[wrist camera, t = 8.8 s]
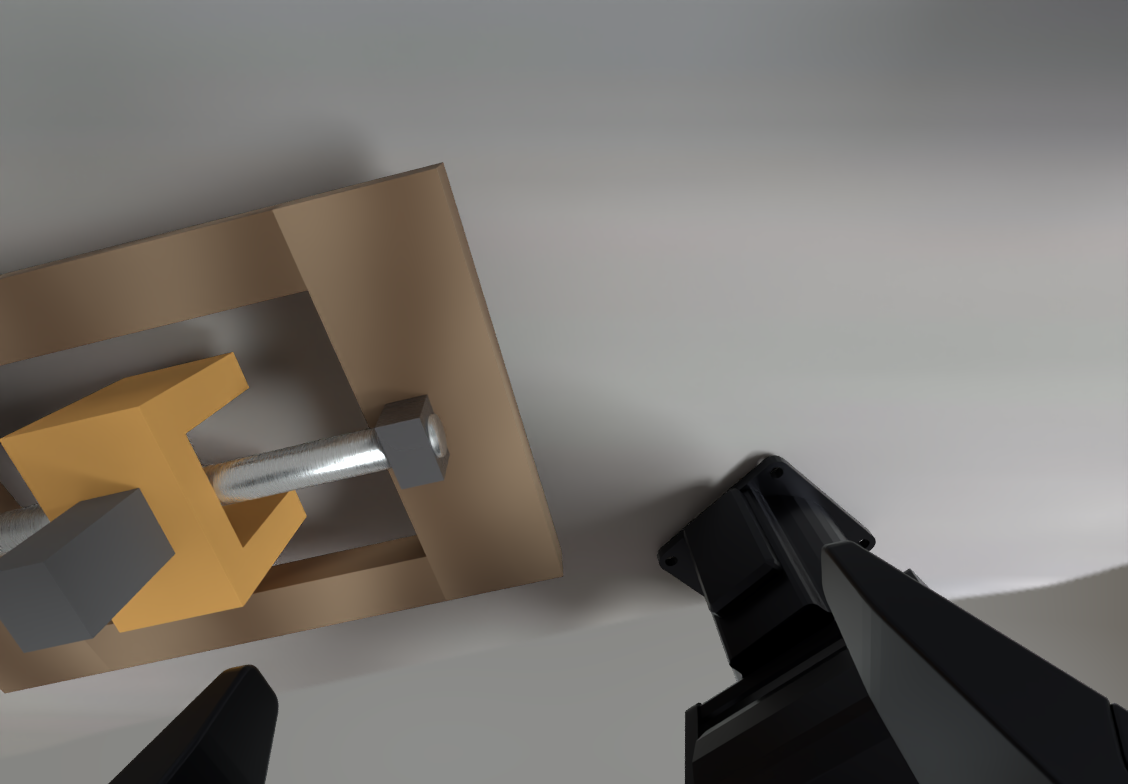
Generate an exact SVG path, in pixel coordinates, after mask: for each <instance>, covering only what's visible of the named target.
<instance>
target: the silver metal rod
mask: <svg viewBox="0 0 1128 784" xmlns="http://www.w3.org/2000/svg"><path fill="white" fill-rule="evenodd" d="M449 456H450V453H449V450H448V448H447V442H446V436H445V431H444V428H443V425H442V422H441V420H440V418H439V417H438V415H437V414H435V413H434V411H433V408H432V406H431V403H430V400H429V398H428V395H427V394H426V395H422V396H418V397H413V398H409V399H405V400H400V401H396V402H392V403H387V404H385V406H384V408H383V410H382V412H381V415H380V417H379V419H378V421H377V423H376V425H375V427H374V428H370V429H366V430H361V431H357V432H353V433H348V434H344V435H339V436H335V437H331V438H326V439H322V440H318V441H313V442H309V443H304V444H300V445H296V446H291V447H287V448H283V449H278V450H274V451H269V452H265V453H261V454H256V455H252V456H248V457H243V458H239V459H235V460H230V461H226V462H221V463H217V464H213V465H208V466H204V467H202V468H203V470H204V472H205V474H206V476H207V478H208V480H209V482H210V484H211V486H212V488H213V490H214V492H215V494H216V496H217V498H218V500H219V502H220V504H221V506H227V505H231V504H235V503H240V502H244V501H249V500H253V499H258V498H262V497H267V496H271V495H276V494H280V493H285V492H289V491H293V490H298V489H302V488H307V487H311V486H316V485H320V484H325V483H329V482H334V481H338V480H343V479H347V478H351V477H356V476H360V475H365V474H369V473H374V472H378V471H383V470H387V469H393V471H394V474H395V476H396V478H397V481H398V483H399V485H400V487H401V490H402V489H407V488H411V487H416V486H420V485H425V484H429V483H434V482H438V481H443V480H444V479H445V474H446V469H447V465H448V460H449ZM48 523H50V521H49V519H48V517H47V516H46V514H45V513H44V511H43V509H42V508H41V506H40V505H39V504H38V505H33V506H29V507H25V508H20V509H16V510H12V511H7V512H3V513H0V556H3V555H4V554H6V553H7V552H9V551H10V550H11V549H13V548H14V547H16V546H17V545H19V544H20V543H21V542H23V541H24V540H26V539H27V538H28V537H30V536H31V535H33V534H34V533H36V532H37V531H38V530H40V529H41V528H43V527H44V526H45V525H47V524H48Z"/></svg>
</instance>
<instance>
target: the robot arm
mask: <svg viewBox="0 0 1128 784" xmlns="http://www.w3.org/2000/svg"><path fill="white" fill-rule="evenodd" d="M775 467H779V469H778V470H777V471H775V472H770V471H771V470H772V469H774V468H775ZM861 540H862V541H861ZM859 541H860V542H859ZM875 543H876V541H875V538H874V537H873V535H872V534H871V533H870V531H869V530H868V529H867V528H865V527H864V526H863V525H862V524H861V523H860V522H858V521H857V520H856V519H855V518H854V517H852V516H851V515H850V514H849V513H848V512H846V511H845V510H844V509H843V508H842V507H840V506H839V505H838V504H837V503H836V502H834V501H833V500H832V499H831V498H830V497H829V496H827V495H826V494H825V493H824V492H823V491H821V490H820V489H819V488H818V487H817V486H815V485H814V484H813V483H812V482H811V481H809V480H808V479H807V478H806V477H805V476H804V475H802V474H801V473H800V472H799V471H798V470H796V469H795V468H794V467H793V466H792V465H790V464H789V463H788V462H787V461H786V460H784V459H783V458H782V457H780V456H771V457H768V458H766V459H765V460H763V461H762V462H761V463H760V464H759V465H758V466H756V467H755V468H754V469H753V470H752V471H751V472H749V473H748V474H747V475H746V476H745V477H744V478H742V479H741V480H740V481H739V482H738V483H737V484H735V485H734V486H733V487H732V488H731V489H730V490H728V491H727V492H726V493H725V494H724V495H723V496H721V497H720V498H719V499H718V500H717V501H716V502H714V503H713V504H712V505H711V506H710V507H708V508H707V509H706V510H705V511H704V512H703V513H701V514H700V515H699V516H698V517H697V518H696V519H694V520H693V521H692V522H691V523H690V524H689V525H687V526H686V527H685V528H684V529H683V530H682V531H680V532H679V533H678V534H677V535H676V536H675V537H673V538H672V539H671V540H670V541H669V542H668V543H666V544H665V545H664V546H663V547H662V548H661V549H660V550H659V551H658V554H657V557H658V561H659V564H660V566H661V567H662V568H663V569H664V570H665V571H667V572H668V573H670V574H671V575H673V576H674V577H676V578H677V579H679V580H680V581H682V582H683V583H685V584H686V585H688V586H689V587H691V588H692V589H694V590H695V591H697V592H698V593H700V594H701V595H703V596H704V597H705V599H706V602H707V605H708V608H709V610H710V611H711V613H712V615H713V618H714V621H715V624H716V627H717V630H718V633H719V636H720V639H721V642H722V645H723V648H724V650H725V653H726V656H727V659H728V662H729V665H730V666H731V667H732V669H733V672H734V675H735V678H736V681H737V682H736V683H735V684H733V685H731V686H730V687H728V688H727V689H725V690H723V691H722V692H720V693H719V694H717V695H716V696H714V697H712V698H711V699H709V700H708V701H706V702H704V703H703V704H701V703H697V704H696V705H694V706H692V707H691V708H689V709H688V710H686V712H685V784H1128V710H1126V709H1125V708H1123V707H1122V706H1120V705H1118V704H1116V703H1112V704H1110V702H1109V700H1108V698H1106V697H1105V696H1103V695H1102V694H1100V693H1098V692H1097V691H1095V690H1093V689H1092V688H1090V687H1088V686H1087V685H1085V684H1084V683H1082V682H1080V681H1079V680H1077V679H1075V678H1074V677H1072V676H1071V675H1069V674H1067V673H1066V672H1064V671H1063V670H1061V669H1059V668H1058V667H1056V666H1054V665H1053V664H1051V663H1049V662H1048V661H1046V660H1045V659H1043V658H1041V657H1040V656H1038V655H1037V654H1035V653H1033V652H1032V651H1030V650H1028V649H1027V648H1025V647H1024V646H1022V645H1020V644H1019V643H1017V642H1015V641H1014V640H1012V639H1010V638H1009V637H1007V636H1006V635H1004V634H1002V633H1001V632H999V631H998V630H996V629H994V628H993V627H991V626H990V625H988V624H986V623H985V622H983V621H981V620H980V619H978V618H977V617H975V616H973V615H972V614H970V613H968V612H967V611H965V610H964V609H962V608H960V607H959V606H957V605H955V604H954V603H952V602H951V601H949V600H947V599H946V598H944V597H942V596H941V595H939V594H938V593H936V592H934V591H933V590H931V589H930V588H929V587H928V586H927V585H926V584H925V583H924V582H923V581H922V580H921V579H920V578H919V577H918V576H917V575H916V574H915V573H914V572H913V571H912V570H911V569H908V570H906V571H905V572H902V571H900V570H899V569H897V568H895V567H894V566H892V565H890V564H889V563H887V562H886V561H884V560H882V559H881V558H879V557H877V556H876V555H874V554H873V553H871V552H869V551H870V550H871V549H872V548H873V547H874V545H875ZM670 556H674V557H673V558H671V559H667V558H668V557H670ZM277 716H278V699H277V696H276V694H275V693H274V691H273V690H272V688H271V687H270V685H269V684H268V683H267V681H266V680H265V678H264V677H263V676H262V674H261V673H260V671H259V670H258V669H257V668H256V667H255V666H253V665H243V666H239V667H234V668H229V669H227V670H225V671H223V672H222V673H221V674H220V675H219V676H218V677H217V678H216V679H215V680H214V681H213V682H212V683H211V684H210V685H209V686H208V687H207V688H206V689H205V690H204V691H203V692H202V693H200V694H199V695H198V696H197V697H196V698H195V699H194V700H193V701H192V702H191V703H190V704H189V705H188V706H187V707H186V708H185V709H184V710H183V711H182V712H181V713H180V714H179V715H178V716H177V717H176V718H175V719H174V720H173V721H172V722H171V723H170V724H169V725H168V726H167V727H166V728H165V729H164V730H163V731H162V732H161V733H160V734H159V735H158V736H157V737H156V738H155V739H154V740H153V741H152V742H151V743H149V745H147V747H145V749H143V750H142V751H141V752H140V753H139V754H138V755H137V756H136V757H135V758H134V759H133V760H132V761H131V762H130V763H129V764H128V765H127V766H126V767H125V768H124V769H123V770H122V771H121V772H120V773H119V774H118V775H117V776H116V777H115V778H114V779H113V780H112V781H111V782H110V783H109V784H265V780H266V775H267V770H268V764H269V758H270V753H271V748H272V743H273V737H274V732H275V726H276V721H277Z"/></svg>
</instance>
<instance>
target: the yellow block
mask: <svg viewBox="0 0 1128 784" xmlns="http://www.w3.org/2000/svg"><path fill="white" fill-rule="evenodd" d="M248 388H249V386H248V384H247V382H246V380H245V377H244V375H243V373H242V371H241V368H240V366H239V364H238V362H237V359H236V357H235V355H234V353H233V352H231V353H227V354H223V355H218V356H214V357H210V358H206V359H202V360H198V361H193V362H189V363H185V364H181V365H177V366H172V367H168V368H164V369H160V370H156V371H152V372H147V373H143V374H139V375H135V376H131V377H126V378H123V379H121V380H119V381H117V382H115V383H113V384H111V385H109V386H107V387H105V388H103V389H101V390H99V391H97V392H95V393H92V394H90V395H88V396H86V397H84V398H82V399H80V400H78V401H76V402H74V403H72V404H70V405H68V406H66V407H64V408H62V409H60V410H58V411H56V412H54V413H52V414H50V415H48V416H45V417H43V418H41V419H39V420H37V421H35V422H33V423H31V424H29V425H27V426H25V427H23V428H21V429H19V430H17V431H15V432H13V433H11V434H9V435H7V436H5V437H3V438H1V439H0V442H1V444H2V446H3V447H4V449H5V450H6V452H7V454H8V455H9V457H10V458H11V460H12V462H13V463H14V465H15V466H16V468H17V470H18V471H19V473H20V474H21V476H22V478H23V479H24V481H25V482H26V484H27V485H28V487H29V489H30V490H31V492H32V493H33V495H34V497H35V498H36V500H37V501H38V503H39V505H40V506H41V508H42V509H43V511H44V513H45V514H46V516H47V517H48V519H49V521H50V523H48V524H47V525H45V526H44V527H43V528H41V529H40V530H38V531H37V532H36V533H34V534H33V535H31V536H30V537H28V538H27V539H26V540H24V541H23V542H21V543H20V544H19V545H17V546H16V547H14V548H13V549H11V550H10V551H9V552H7V553H6V554H4V555H3V556H2V557H0V620H1V621H2V623H3V624H4V626H5V627H6V629H7V630H8V631H9V633H10V634H11V636H12V637H13V638H14V640H15V641H16V643H17V644H18V645H19V647H20V648H21V650H22V651H23V653H27V652H31V651H36V650H41V649H46V648H50V647H55V646H60V645H64V644H69V643H74V642H78V641H83V640H88V639H93V638H94V637H95V636H96V635H97V634H98V633H99V632H100V631H101V630H102V629H103V628H104V627H105V626H106V625H107V624H108V623H109V621H110V620H112V621H113V623H114V624H115V626H116V628H117V629H118V631H119V632H120V633H121V632H126V631H131V630H135V629H140V628H145V627H150V626H154V625H159V624H164V623H168V622H173V621H178V620H182V619H187V618H192V617H197V616H201V615H206V614H211V613H215V612H220V611H225V610H229V609H234V608H239V607H243V606H244V605H245V604H246V602H247V601H248V599H249V598H250V596H251V595H252V594H253V592H254V591H255V589H256V588H257V586H258V585H259V584H260V582H261V581H262V579H263V578H264V577H265V575H266V574H267V572H268V571H269V569H270V568H271V567H272V565H273V564H274V562H275V561H276V559H277V558H278V557H279V555H280V554H281V552H282V551H283V549H284V548H285V547H286V545H287V544H288V542H289V541H290V539H291V538H292V537H293V535H294V534H295V532H296V531H297V529H298V528H299V527H300V525H301V524H302V522H303V521H304V519H305V518H306V517H307V516H306V514H305V511H304V509H303V507H302V505H301V502H300V500H299V498H298V496H297V493H296V491H295V490H293V491H289V492H285V493H280V494H276V495H271V496H267V497H262V498H258V499H253V500H249V501H244V502H240V503H235V504H231V505H227V506H221V504H220V502H219V500H218V498H217V496H216V494H215V492H214V490H213V488H212V486H211V484H210V482H209V480H208V478H207V476H206V474H205V472H204V470H203V468H202V466H201V464H200V462H199V460H198V458H197V456H196V454H195V452H194V450H193V448H192V446H191V444H190V442H189V440H188V438H187V436H186V433H187V432H189V431H190V430H192V429H193V428H194V427H196V426H197V425H198V424H200V423H201V422H203V421H204V420H205V419H207V418H208V417H210V416H211V415H212V414H214V413H215V412H216V411H218V410H219V409H221V408H222V407H223V406H225V405H226V404H227V403H229V402H230V401H232V400H233V399H234V398H236V397H237V396H238V395H240V394H241V393H243V392H244V391H245V390H247V389H248Z"/></svg>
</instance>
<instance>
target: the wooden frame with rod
mask: <svg viewBox="0 0 1128 784" xmlns="http://www.w3.org/2000/svg"><path fill="white" fill-rule="evenodd" d="M307 290H308V292H309V294H310V296H311V298H312V301H313V303H314V305H315V307H316V310H317V312H318V314H319V316H320V319H321V321H322V323H323V325H324V328H325V330H326V332H327V334H328V337H329V339H330V341H331V343H332V346H333V348H334V350H335V352H336V355H337V357H338V359H339V361H340V363H341V366H342V368H343V370H344V372H345V375H346V377H347V379H348V381H349V384H350V386H351V388H352V390H353V393H354V395H355V397H356V399H357V402H358V404H359V406H360V408H361V411H362V413H363V415H364V417H365V420H366V422H367V424H368V426H369V429H370V428H374V427H375V425H376V423H377V421H378V419H379V417H380V415H381V412H382V410H383V408H384V406H385V404H387V403H392V402H396V401H400V400H405V399H409V398H413V397H418V396H422V395H426V394H427V395H428V398H429V400H430V403H431V406H432V408H433V411H434V413H435V414H437V415H438V417H439V418H440V420H441V422H442V425H443V428H444V431H445V436H446V442H447V448H448V450H449V453H450V456H449V460H448V465H447V469H446V474H445V479H444V480H443V481H438V482H434V483H429V484H425V485H420V486H416V487H411V488H407V489H402V490H401V487H400V485H399V483H398V481H397V478H396V476H395V474H394V471H393V469H388V471H389V473H390V476H391V478H392V480H393V482H394V485H395V487H396V489H397V491H398V494H399V496H400V498H401V500H402V503H403V505H404V507H405V509H406V512H407V514H408V516H409V518H410V521H411V523H412V525H413V527H414V530H415V532H416V534H417V535H414V536H409V537H405V538H400V539H395V540H391V541H386V542H382V543H377V544H372V545H368V546H363V547H359V548H354V549H349V550H345V551H340V552H335V553H331V554H326V555H322V556H317V557H312V558H308V559H303V560H299V561H294V562H289V563H285V564H280V565H276V566H272V567H271V568H270V569H269V571H268V572H267V574H266V575H265V577H264V578H263V579H262V581H261V582H260V584H259V585H258V586H257V588H256V589H255V591H254V592H253V594H252V595H251V596H250V598H249V599H248V601H247V602H246V604H245V605H244V606H243V607H239V608H234V609H229V610H225V611H220V612H215V613H211V614H206V615H201V616H197V617H192V618H187V619H182V620H178V621H173V622H168V623H164V624H159V625H154V626H150V627H145V628H140V629H135V630H131V631H126V632H121V633H120V632H119V631H118V629H117V628H116V626H115V624H114V623H113V621H112V620H110V621H109V623H108V624H107V625H106V626H105V627H104V628H103V629H102V630H101V631H100V632H99V633H98V634H97V635H96V636H95V637H94V638H93V639H88V640H83V641H78V642H74V643H69V644H64V645H60V646H55V647H50V648H46V649H41V650H36V651H31V652H27V653H23V651H22V650H21V648H20V647H19V645H18V644H17V643H16V641H15V640H14V638H13V637H12V636H11V634H10V633H9V631H8V630H7V629H6V627H5V626H4V624H3V623H2V621H1V620H0V689H1V690H2V691H3V692H4V693H9V692H14V691H18V690H23V689H28V688H33V687H38V686H42V685H47V684H52V683H57V682H61V681H66V680H71V679H76V678H81V677H85V676H90V675H95V674H100V673H104V672H109V671H114V670H119V669H124V668H128V667H133V666H138V665H143V664H147V663H152V662H157V661H162V660H167V659H171V658H176V657H181V656H186V655H190V654H195V653H200V652H205V651H210V650H214V649H219V648H224V647H229V646H233V645H238V644H243V643H248V642H252V641H257V640H262V639H267V638H272V637H276V636H281V635H286V634H291V633H295V632H300V631H305V630H310V629H315V628H319V627H324V626H329V625H334V624H338V623H343V622H348V621H353V620H358V619H362V618H367V617H372V616H377V615H381V614H386V613H391V612H396V611H401V610H405V609H410V608H415V607H420V606H424V605H429V604H434V603H439V602H444V601H448V600H453V599H458V598H463V597H467V596H472V595H477V594H482V593H486V592H491V591H496V590H501V589H506V588H510V587H515V586H520V585H525V584H529V583H534V582H539V581H544V580H549V579H553V578H558V577H563V564H562V551H561V547H560V544H559V541H558V538H557V534H556V531H555V528H554V524H553V521H552V518H551V515H550V511H549V508H548V505H547V501H546V498H545V495H544V492H543V488H542V485H541V482H540V479H539V475H538V472H537V469H536V465H535V462H534V459H533V456H532V452H531V449H530V446H529V442H528V439H527V436H526V433H525V429H524V426H523V423H522V419H521V416H520V413H519V410H518V406H517V403H516V400H515V396H514V393H513V390H512V387H511V383H510V380H509V377H508V374H507V370H506V367H505V364H504V360H503V357H502V354H501V351H500V347H499V344H498V341H497V337H496V334H495V331H494V328H493V324H492V321H491V318H490V314H489V311H488V308H487V305H486V301H485V298H484V295H483V291H482V288H481V285H480V282H479V278H478V275H477V272H476V268H475V265H474V262H473V259H472V255H471V252H470V249H469V246H468V242H467V239H466V236H465V232H464V229H463V226H462V223H461V219H460V216H459V213H458V209H457V206H456V203H455V200H454V196H453V193H452V190H451V186H450V183H449V180H448V177H447V173H446V170H445V167H444V163H443V162H442V163H438V164H435V165H431V166H427V167H423V168H419V169H415V170H411V171H407V172H403V173H399V174H395V175H391V176H387V177H383V178H379V179H376V180H372V181H368V182H364V183H360V184H356V185H352V186H348V187H344V188H340V189H336V190H332V191H328V192H324V193H320V194H317V195H313V196H309V197H305V198H301V199H297V200H293V201H289V202H285V203H281V204H277V205H273V206H269V207H265V208H262V209H258V210H254V211H250V212H246V213H242V214H238V215H234V216H230V217H226V218H222V219H218V220H214V221H210V222H206V223H203V224H199V225H195V226H191V227H187V228H183V229H179V230H175V231H171V232H167V233H163V234H159V235H155V236H151V237H148V238H144V239H140V240H136V241H132V242H128V243H124V244H120V245H116V246H112V247H108V248H104V249H100V250H96V251H92V252H89V253H85V254H81V255H77V256H73V257H69V258H65V259H61V260H57V261H53V262H49V263H45V264H41V265H37V266H34V267H30V268H26V269H22V270H18V271H14V272H10V273H6V274H2V275H0V366H1V365H5V364H9V363H13V362H17V361H21V360H25V359H29V358H33V357H37V356H41V355H45V354H50V353H54V352H58V351H62V350H66V349H70V348H74V347H78V346H82V345H86V344H90V343H95V342H99V341H103V340H107V339H111V338H115V337H119V336H123V335H127V334H131V333H135V332H140V331H144V330H148V329H152V328H156V327H160V326H164V325H168V324H172V323H176V322H180V321H184V320H189V319H193V318H197V317H201V316H205V315H209V314H213V313H217V312H221V311H225V310H229V309H234V308H238V307H242V306H246V305H250V304H254V303H258V302H262V301H266V300H270V299H274V298H278V297H283V296H287V295H291V294H295V293H299V292H303V291H307ZM20 508H21V507H20V505H19V504H18V503H17V502H16V501H15V499H14V498H13V497H12V496H11V494H10V493H9V492H8V491H7V490H6V488H5V487H4V486H3V485H2V484H1V482H0V513H3V512H7V511H12V510H16V509H20ZM0 557H2V556H0Z"/></svg>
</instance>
